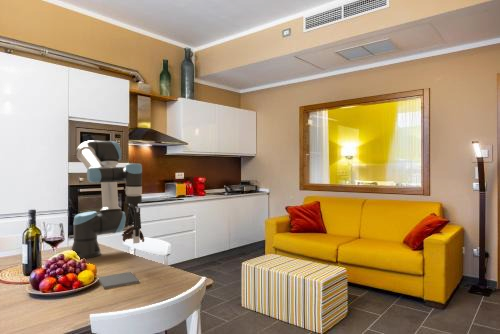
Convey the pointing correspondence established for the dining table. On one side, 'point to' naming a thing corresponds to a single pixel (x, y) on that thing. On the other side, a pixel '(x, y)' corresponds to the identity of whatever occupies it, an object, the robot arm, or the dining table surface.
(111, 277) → the slate mat
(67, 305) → the dining table surface
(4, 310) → the dining table surface
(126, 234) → the brown arch piece
